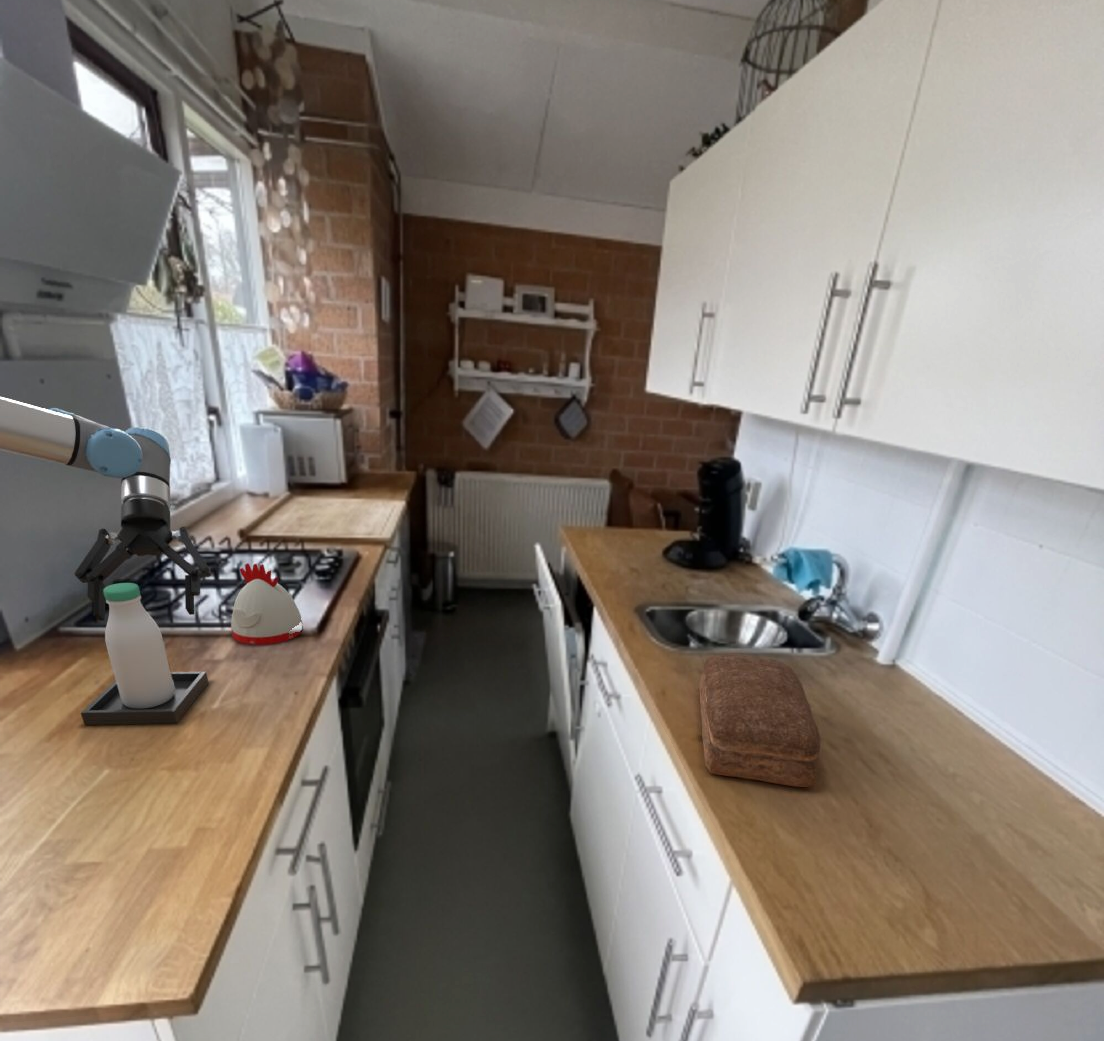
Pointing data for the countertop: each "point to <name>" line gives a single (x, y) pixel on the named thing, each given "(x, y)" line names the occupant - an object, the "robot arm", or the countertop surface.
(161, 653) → the milk bottle
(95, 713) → the dock tray
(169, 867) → the countertop surface
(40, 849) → the countertop surface
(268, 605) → the kitchen timer
